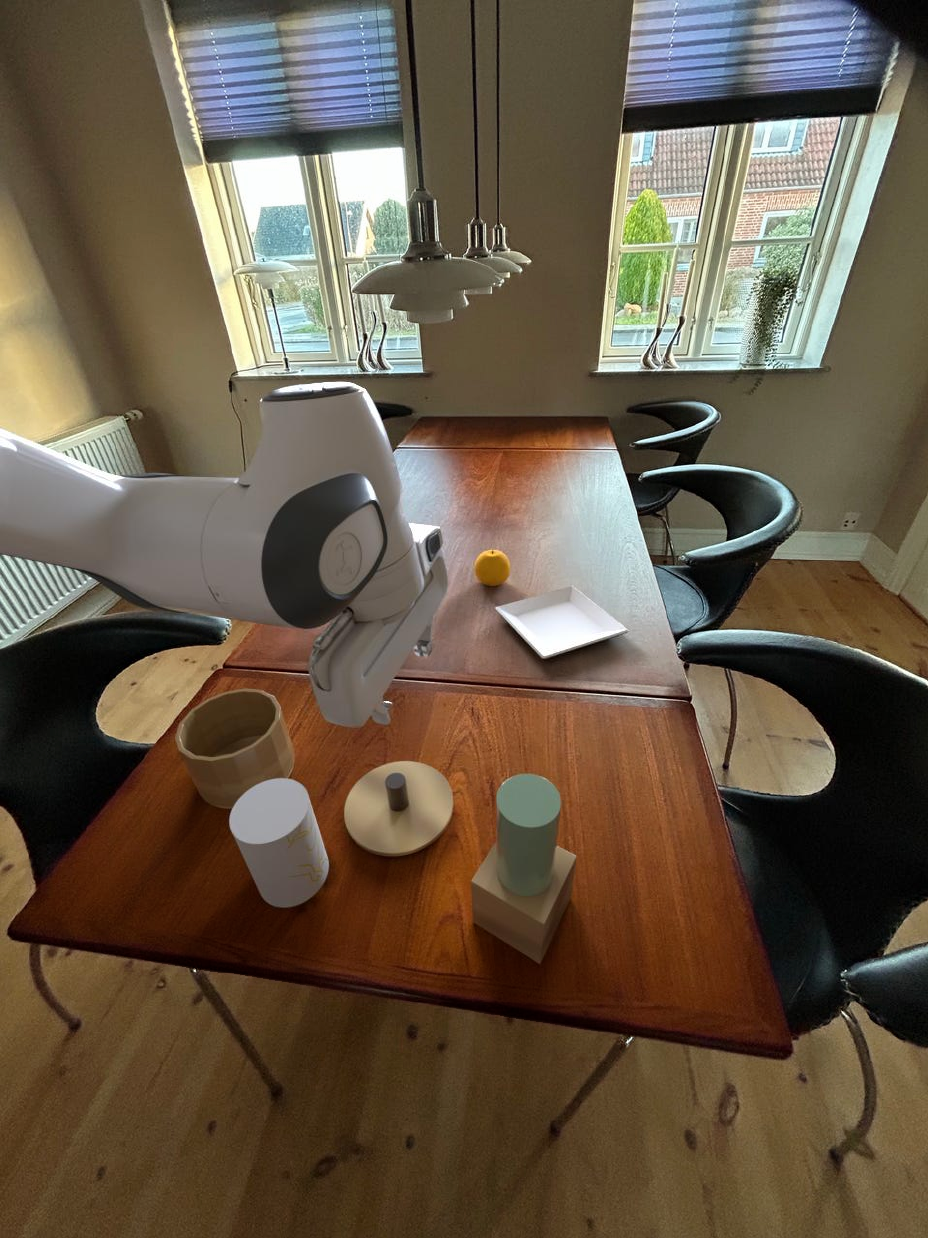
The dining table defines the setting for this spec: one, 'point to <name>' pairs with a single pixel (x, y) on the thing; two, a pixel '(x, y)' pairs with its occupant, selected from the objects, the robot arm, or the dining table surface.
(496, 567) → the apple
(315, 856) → the white cylinder
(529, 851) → the canister
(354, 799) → the basket lid
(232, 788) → the basket
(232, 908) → the dining table surface
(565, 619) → the plate
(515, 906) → the stand
